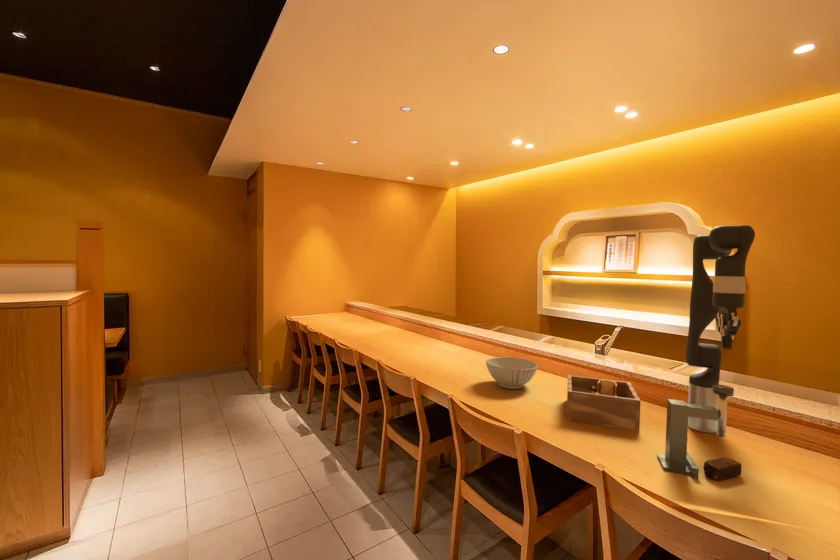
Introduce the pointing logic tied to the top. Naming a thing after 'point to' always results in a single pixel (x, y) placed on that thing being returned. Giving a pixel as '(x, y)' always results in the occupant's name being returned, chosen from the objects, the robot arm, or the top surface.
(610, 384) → the armchair
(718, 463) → the brick
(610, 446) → the top surface
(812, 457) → the top surface
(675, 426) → the press frame
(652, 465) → the top surface
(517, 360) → the decorative bowl
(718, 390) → the ram
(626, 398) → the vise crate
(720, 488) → the top surface
